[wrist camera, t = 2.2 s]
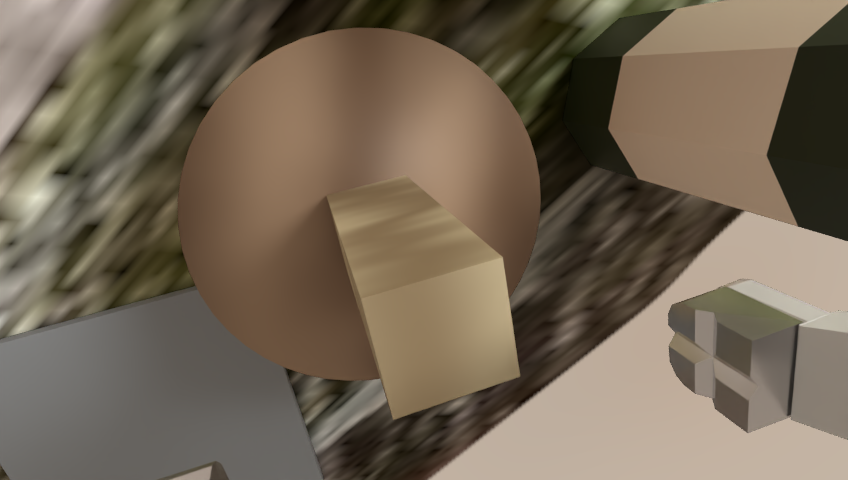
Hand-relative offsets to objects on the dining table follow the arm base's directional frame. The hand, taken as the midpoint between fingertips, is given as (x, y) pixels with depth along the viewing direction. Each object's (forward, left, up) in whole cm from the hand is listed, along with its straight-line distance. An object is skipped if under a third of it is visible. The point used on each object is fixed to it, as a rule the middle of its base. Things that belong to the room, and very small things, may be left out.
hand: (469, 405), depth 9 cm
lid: (0, 0, -12) cm, 12 cm away
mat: (+13, +10, -18) cm, 24 cm away
